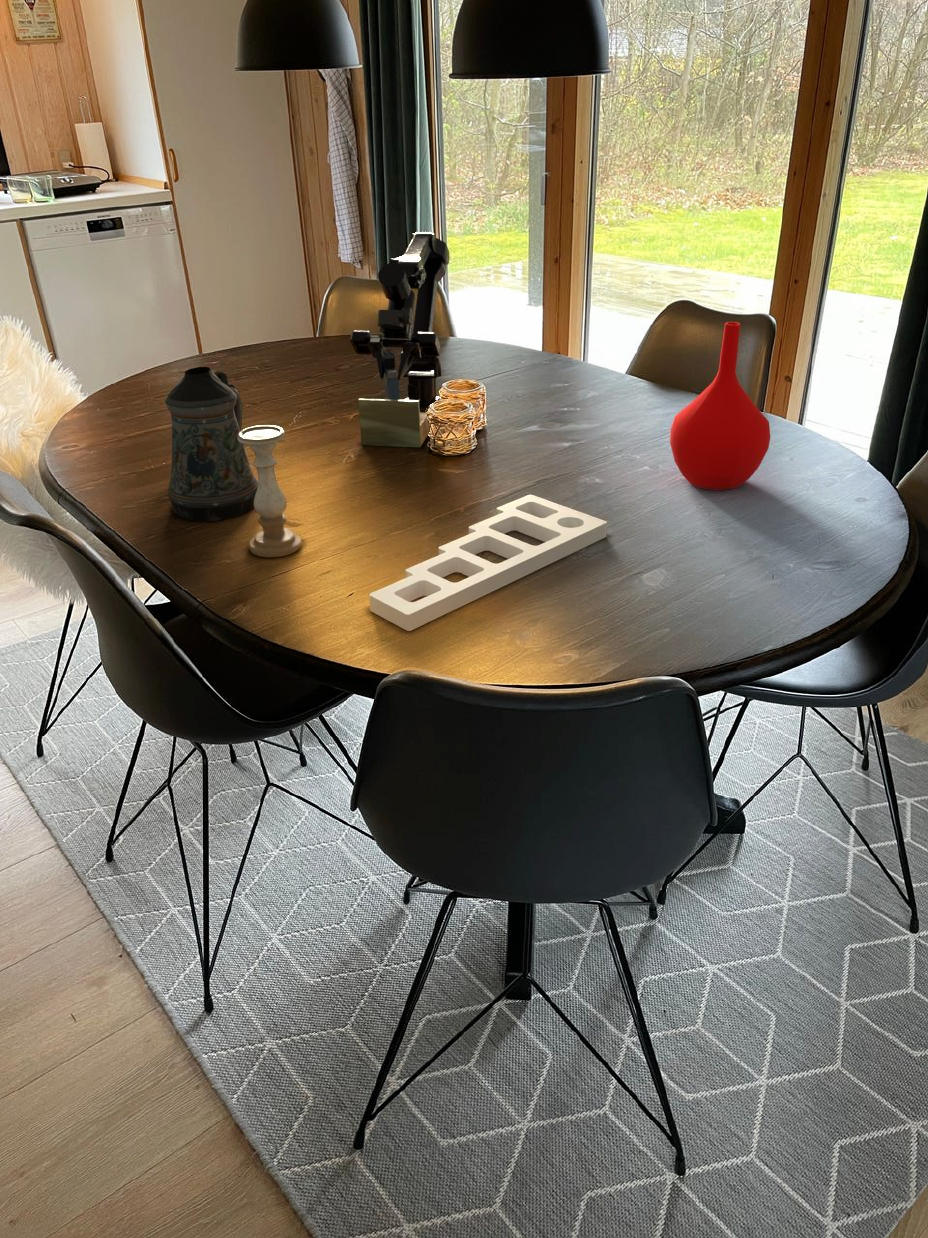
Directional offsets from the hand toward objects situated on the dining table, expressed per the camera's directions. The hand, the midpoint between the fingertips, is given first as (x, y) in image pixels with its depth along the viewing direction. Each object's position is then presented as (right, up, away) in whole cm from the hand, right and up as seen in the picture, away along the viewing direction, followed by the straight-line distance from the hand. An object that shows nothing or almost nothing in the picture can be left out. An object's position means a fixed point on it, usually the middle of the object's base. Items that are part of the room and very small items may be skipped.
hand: (390, 378), depth 204 cm
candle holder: (-16, -39, -40) cm, 58 cm away
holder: (+18, -42, -47) cm, 66 cm away
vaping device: (0, -5, +5) cm, 7 cm away
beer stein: (-31, -29, -22) cm, 48 cm away
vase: (+64, -25, -19) cm, 71 cm away
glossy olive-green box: (+1, -11, +7) cm, 13 cm away
